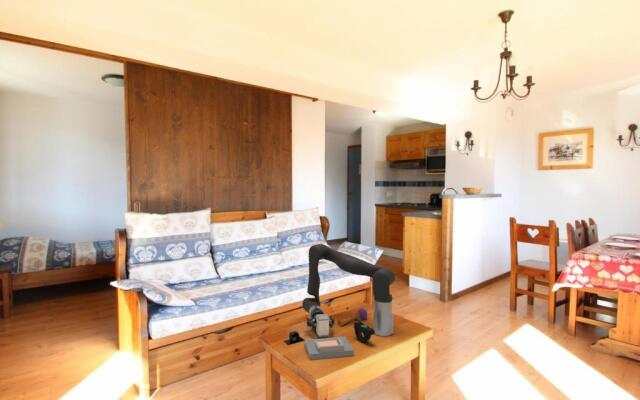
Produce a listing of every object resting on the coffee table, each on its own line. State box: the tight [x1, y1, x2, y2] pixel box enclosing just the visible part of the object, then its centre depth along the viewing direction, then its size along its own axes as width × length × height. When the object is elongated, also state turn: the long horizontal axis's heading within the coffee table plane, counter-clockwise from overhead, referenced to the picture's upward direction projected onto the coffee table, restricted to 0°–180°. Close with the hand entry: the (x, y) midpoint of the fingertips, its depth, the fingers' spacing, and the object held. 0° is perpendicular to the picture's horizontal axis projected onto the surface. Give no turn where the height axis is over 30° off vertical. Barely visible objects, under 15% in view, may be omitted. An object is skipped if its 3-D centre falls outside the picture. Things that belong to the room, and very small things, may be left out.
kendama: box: [337, 307, 368, 327], centre depth 189 cm, size 6×6×20 cm
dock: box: [304, 336, 355, 361], centre depth 156 cm, size 20×14×5 cm
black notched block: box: [283, 330, 306, 346], centre depth 165 cm, size 12×7×5 cm, turn 123°
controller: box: [353, 319, 375, 343], centre depth 164 cm, size 4×12×10 cm, turn 35°
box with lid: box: [315, 313, 330, 339], centre depth 168 cm, size 5×6×11 cm
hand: (323, 326), depth 167 cm, fingers open, 8 cm apart
